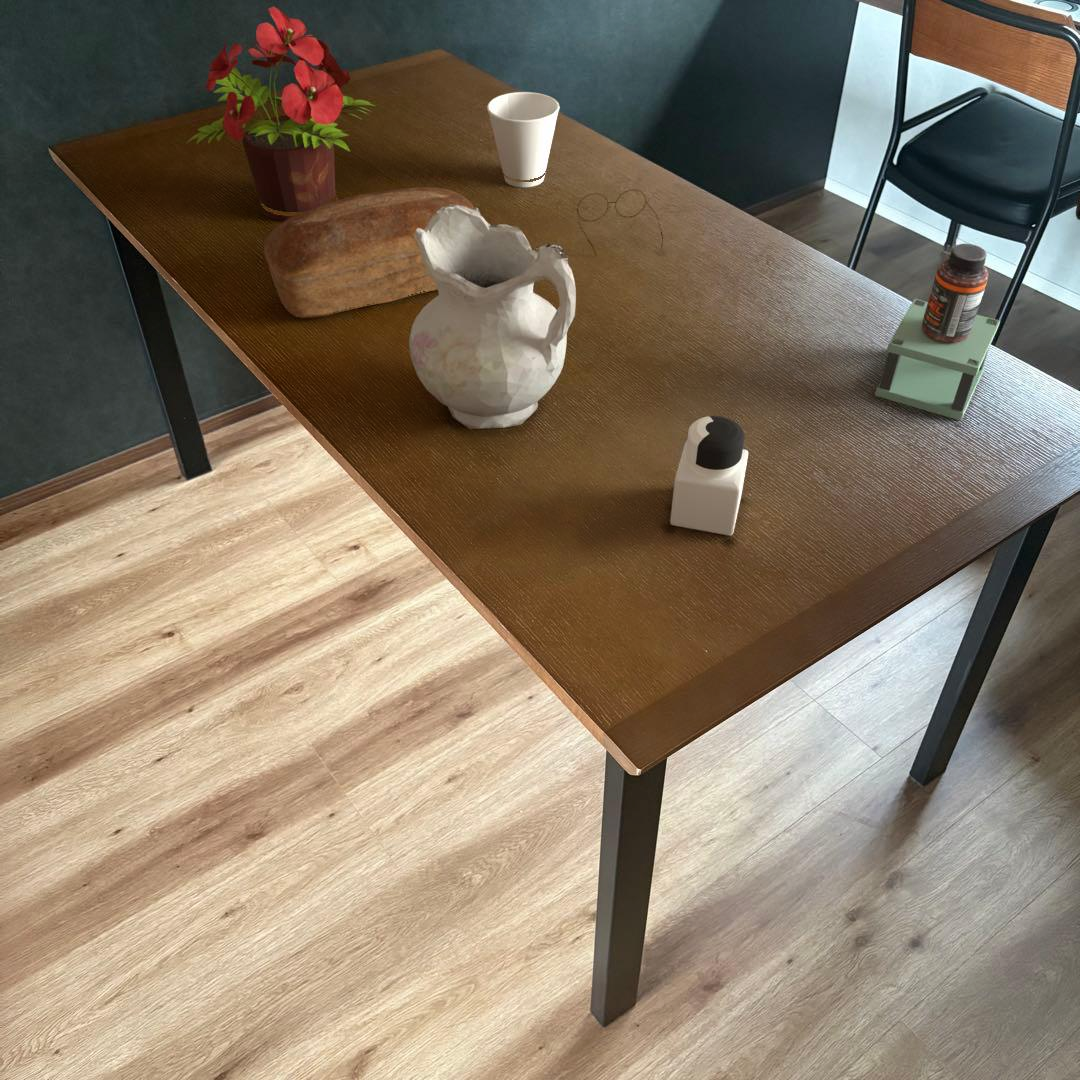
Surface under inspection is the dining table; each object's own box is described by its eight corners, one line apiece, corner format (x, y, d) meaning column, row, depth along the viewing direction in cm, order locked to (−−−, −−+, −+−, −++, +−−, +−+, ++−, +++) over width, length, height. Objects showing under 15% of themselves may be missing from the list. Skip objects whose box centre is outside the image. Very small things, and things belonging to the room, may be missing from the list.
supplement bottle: (911, 323, 137) (933, 242, 129) (951, 315, 138) (976, 235, 130) (937, 349, 133) (961, 267, 125) (979, 340, 134) (1006, 259, 126)
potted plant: (284, 258, 165) (246, 56, 144) (185, 201, 179) (137, 9, 158) (427, 193, 181) (411, 1, 160) (326, 145, 194) (299, -37, 173)
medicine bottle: (741, 496, 125) (755, 414, 117) (732, 537, 121) (746, 454, 112) (680, 486, 127) (690, 403, 119) (669, 526, 122) (678, 443, 114)
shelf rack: (982, 372, 143) (1000, 320, 137) (960, 421, 136) (978, 368, 130) (900, 349, 147) (914, 298, 141) (874, 395, 139) (888, 343, 134)
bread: (492, 284, 160) (489, 198, 150) (288, 332, 150) (271, 244, 141) (462, 247, 167) (457, 163, 158) (267, 291, 158) (249, 205, 149)
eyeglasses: (668, 248, 167) (671, 218, 163) (589, 257, 165) (590, 227, 161) (648, 215, 175) (650, 185, 171) (572, 223, 173) (573, 193, 169)
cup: (509, 200, 178) (507, 126, 170) (477, 172, 186) (474, 100, 177) (571, 184, 183) (573, 111, 174) (538, 157, 190) (537, 86, 181)
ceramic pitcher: (601, 389, 142) (613, 206, 127) (553, 470, 128) (558, 276, 112) (451, 358, 148) (443, 180, 132) (388, 433, 134) (371, 243, 118)
